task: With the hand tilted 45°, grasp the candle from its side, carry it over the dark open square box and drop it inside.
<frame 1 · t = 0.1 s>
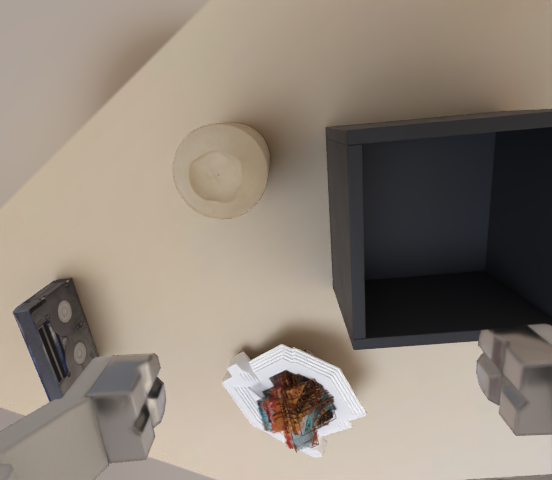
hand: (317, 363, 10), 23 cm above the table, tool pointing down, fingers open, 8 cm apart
candle: (236, 158, 31), on the table
mini dv tape: (78, 319, 35), on the table
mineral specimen: (293, 378, 37), on the table
dark open square box: (412, 205, 31), on the table
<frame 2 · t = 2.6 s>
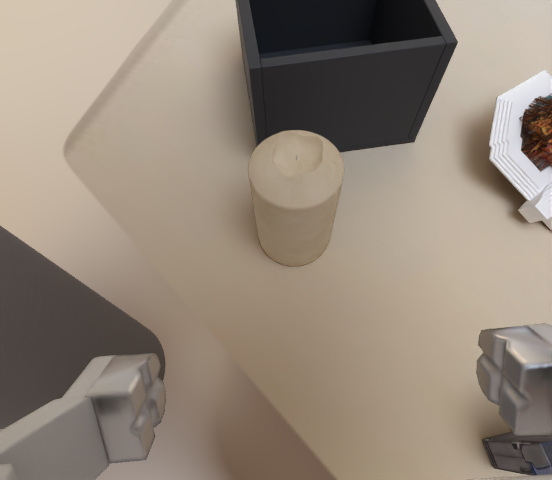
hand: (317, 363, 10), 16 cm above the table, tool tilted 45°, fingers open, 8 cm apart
candle: (294, 235, 30), on the table
mini dv tape: (548, 436, 23), on the table
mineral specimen: (536, 167, 32), on the table
dark open square box: (321, 95, 36), on the table
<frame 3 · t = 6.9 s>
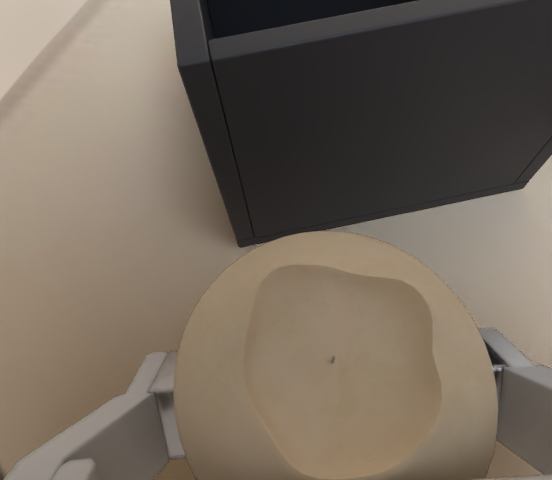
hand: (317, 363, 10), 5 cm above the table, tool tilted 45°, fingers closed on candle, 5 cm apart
candle: (316, 407, 14), on the table, touching gripper
dark open square box: (342, 113, 21), on the table
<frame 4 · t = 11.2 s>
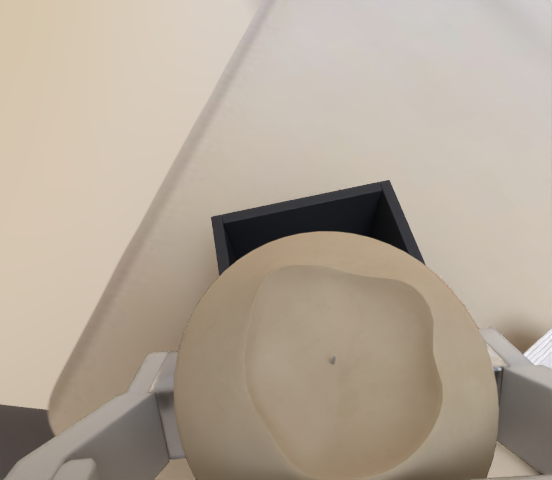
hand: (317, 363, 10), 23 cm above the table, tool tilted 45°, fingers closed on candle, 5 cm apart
candle: (316, 407, 14), point 18 cm above the table, touching gripper
dark open square box: (319, 321, 34), on the table
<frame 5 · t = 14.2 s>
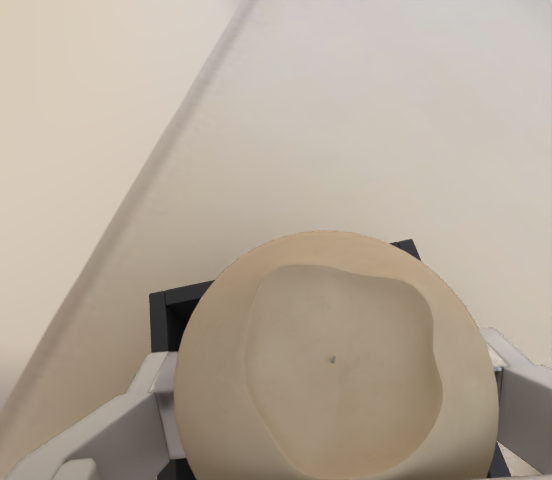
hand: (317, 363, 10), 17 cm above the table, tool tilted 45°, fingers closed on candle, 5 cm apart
candle: (316, 407, 14), point 12 cm above the table, touching gripper
dark open square box: (311, 420, 25), on the table
when the fingers open (13 cm above the table, at t = 15.8 s): candle drops 7 cm, resting on dark open square box.
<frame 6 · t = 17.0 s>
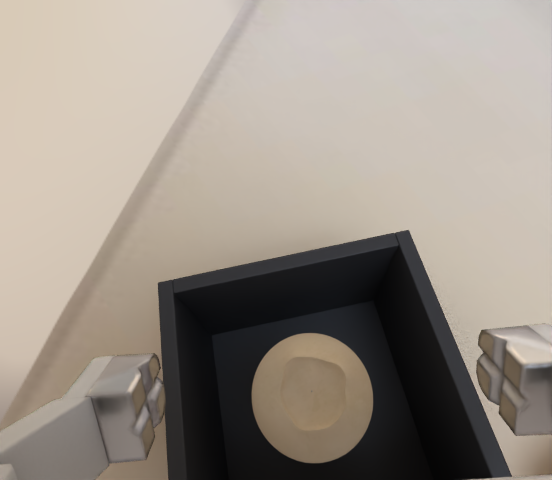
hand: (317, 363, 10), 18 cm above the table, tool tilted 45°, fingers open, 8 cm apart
candle: (310, 406, 25), resting on dark open square box
dark open square box: (312, 406, 25), on the table
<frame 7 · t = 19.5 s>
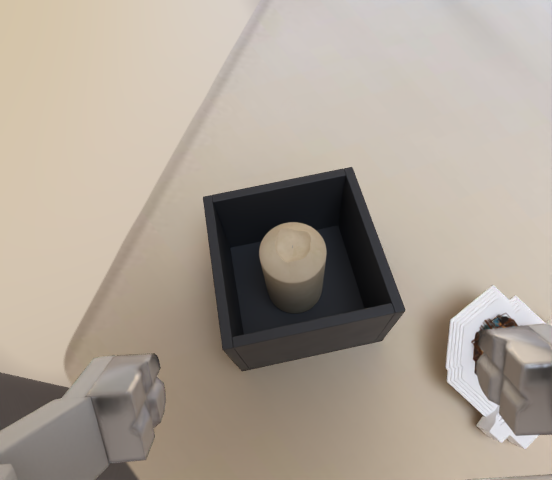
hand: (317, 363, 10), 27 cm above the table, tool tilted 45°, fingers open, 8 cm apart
candle: (294, 288, 39), resting on dark open square box
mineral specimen: (494, 365, 35), on the table
dark open square box: (296, 289, 39), on the table
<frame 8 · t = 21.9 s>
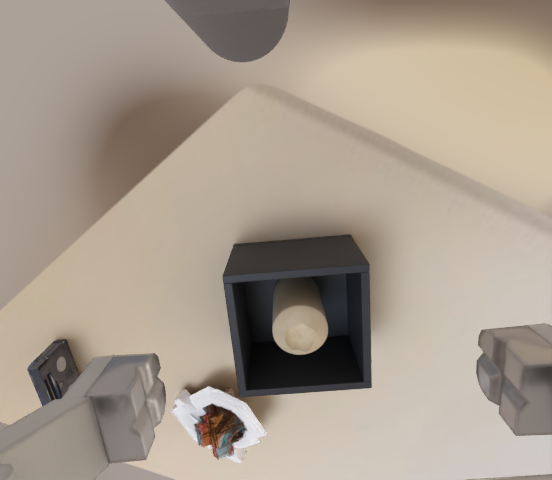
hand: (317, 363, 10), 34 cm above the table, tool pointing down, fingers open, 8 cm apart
candle: (296, 292, 46), resting on dark open square box
mini dv tape: (71, 366, 50), on the table
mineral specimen: (223, 406, 52), on the table
dark open square box: (296, 292, 46), on the table
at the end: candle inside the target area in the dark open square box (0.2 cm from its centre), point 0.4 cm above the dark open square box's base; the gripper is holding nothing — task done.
